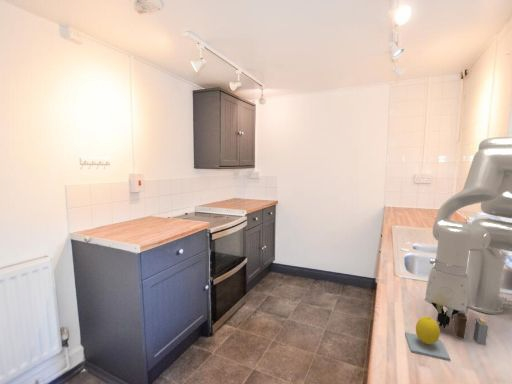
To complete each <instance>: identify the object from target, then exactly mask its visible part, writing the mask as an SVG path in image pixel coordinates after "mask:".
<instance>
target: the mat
mask: <svg viewBox="0 0 512 384" xmlns="http://www.w3.org/2000/svg"><path fill="white" fill-rule="evenodd" d="M404 336H405V338H406V342H407V345H408V348H409V351H410V353H413V354H417V355H418V354H419V355H424V356H427V357H432V358H436V359H440V360H444V361H449V362H450V361H451V357H450V355H449V353H448V351H447V349H446V347H445V346H444V343H443V342H442V340H441V339H438V341H437V342H436V343H434V344H427V345H426V344H425V343H424V342H422V341H421V340H420V339H419V338H418V336H417V334H416V333H410V332H406V331H405V332H404Z"/></svg>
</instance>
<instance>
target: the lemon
mask: <svg viewBox="0 0 512 384" xmlns="http://www.w3.org/2000/svg"><path fill="white" fill-rule="evenodd" d="M415 334H416V335H417V336H418V338H419V339H420V340H421V341H422V342H424V343H425V344H426V345H427V344H434V343H436V342H437V341H438V339H439V338H440V334H441V330H440V326H439V323H438V322H437V320H434V318H432V317H431V316H422V317H420V318H419V319H418V320H417V322H416V325H415Z"/></svg>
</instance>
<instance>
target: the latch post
mask: <svg viewBox="0 0 512 384" xmlns="http://www.w3.org/2000/svg"><path fill="white" fill-rule="evenodd" d="M488 330H489V325H488V323H487V322H486V320H485V319H484V318H478V319H475V323H474V330H473V336H472V337H473V338H472V340H473V341H474V342H475V344H476V345H480V346H486V343H487V336H488Z"/></svg>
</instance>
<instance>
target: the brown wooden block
mask: <svg viewBox="0 0 512 384" xmlns="http://www.w3.org/2000/svg"><path fill="white" fill-rule="evenodd" d="M452 320H453V325H454V331H455V332H454V334H455V337H456V338H459V339H463V340H465V337H466V331H467V330H466V329H467V323H468V322H467V321H468V318H467V314H460V313H457V314H454V315H453V319H452Z"/></svg>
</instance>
